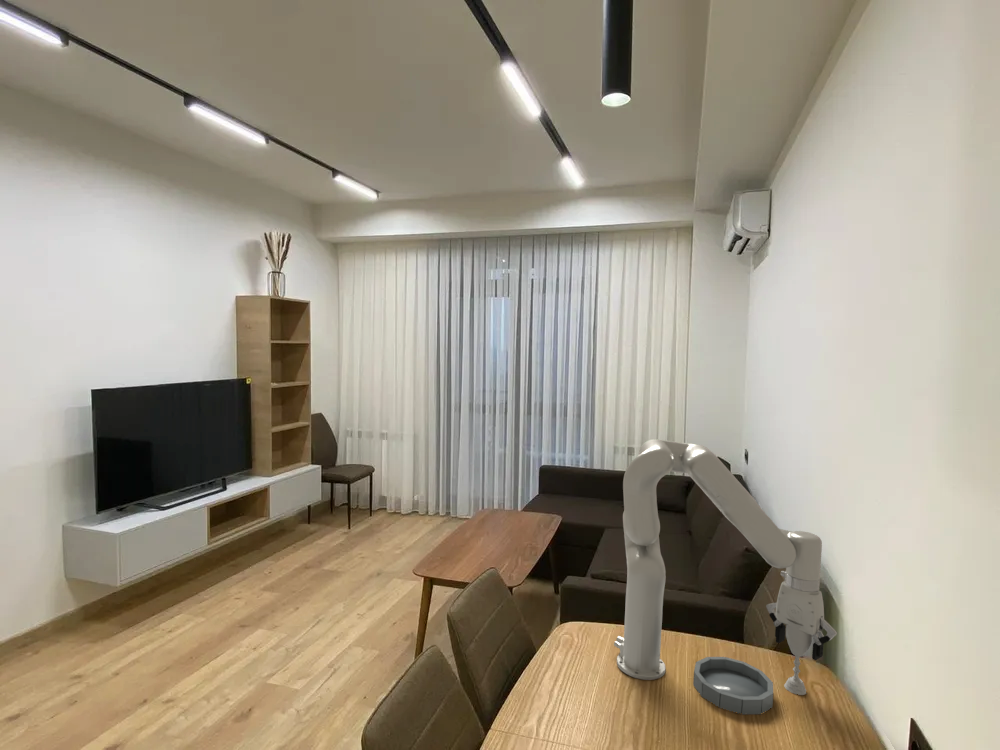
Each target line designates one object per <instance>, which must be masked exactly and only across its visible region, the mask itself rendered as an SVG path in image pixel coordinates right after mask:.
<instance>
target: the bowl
mask: <svg viewBox="0 0 1000 750" xmlns="http://www.w3.org/2000/svg"><path fill="white" fill-rule="evenodd" d="M693 670H694V671H693V682H692V683H693V684H692V685H693V687H694V688H695V689H696V691H697V693H698V694H699V693H700V694H699V695H700V697H702V698H703V699H704V698H705V699H704V700H706V699H707V700H706V701H707V702H709V701H710V702H709V703H711V702H712V703H713V705H714V704H715V705H714V706H715V707H717V706H718V708H719V709H722V708H723V709H722V710H725V709H726V711H728V710H729V712H732V711H733V713H735V712H737V713H736V714H739V713H740V714H739V715H762V714H761V713H763V712H764V713H766V712H767V711H769V710H771V709H773V705H774V704H773V703H774V681H772V680H771V679H770V678H769V677H768V675H767V674H766V673H765V672H763V671H762V670H760V669H759V668H756V667H755V666H754V665H751V664H749V663H747V662H745V661H743V660H739V659H736V658H735V659H734V658H730V657H727V656H706V657H704V658H702V659H699V660H697V661H696V662H695V665H694V669H693ZM712 703H711V704H712ZM770 708H771V709H770ZM765 711H766V712H765ZM741 713H742V714H741ZM764 713H763V714H764Z"/></svg>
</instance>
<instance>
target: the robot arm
mask: <svg viewBox="0 0 1000 750" xmlns="http://www.w3.org/2000/svg"><path fill="white" fill-rule="evenodd" d="M670 472H673V473H681V474H687V475H689V477H690V479H692V480H693V482H694V483H695V484H696V485H697V486H698V487H699V488H700V489H701V490H702V492H703V493H704V494H705V495H706V497H708V499H709V500H710V501H711V502H712V504H714V506H715V507H716V508H717V509H718V510H719V511H720V513H721V514H722V515H723V516H724V517H725V518H726V519H727V521H729V522H730V523H731V524H732V525H733V526H734V527H735V528H736V529H737V530H738V531H739V532H740V533H741V534H742V535H743V536H744V538H745V539H746V540H747V541H748V542H749V543H750V544H751V546H752V547H753V548H754V549H755V550H756V551H757V552H758V554H759V555H760V556H761V558H763V559H764V560H765V563H767V564H768V565H769V566H771V567H773V568H776V569H785V570H781V571H780V576H782V577H783V578H784V581H782V582H781V584H780V587H779V591H778V595H777V600H776V602H772V603H768V604H766V606H765V607H766V610H767V612H768V613H769V615H768V616H769V617H770V619H771V621H772V622H773V626H774V627H775V630H774V631H775V633H774V636H775V642H776V643H777V644H780V643H781V642H784V641H785V640H786V625H789V626H790V624H789V622H788V621H787V620H789V621H790V622H792V623H795V624H798V625H801V626H803V627H801V628H799V630H801V631H802V632H804V633H807V634H810V635H812V640H814V643H812V653H811V654H812V655H811V657H812V660H814V661H816V660H818V659H820V658H822V657H823V655H824V645H825V644H826V643H827V642H830V641H832V639H833V638H834V637H836V636H837V634H838V632H837V631H836V629H835V628H834V627H833V626H832V625H830V623H829V622H828V621H827V620H825V609H824V607H825V606H824V605H825V604H824V600H823V599H824V598H823V594H822V591H821V590H820V582H821V579H820V578H821V564H822V550H823V549H822V548H823V542H822V539H821V537H820V536H818V535H817V534H815V533H812V532H808V531H803V530H802V531H801V530H795V531H794V530H793V531H792V530H786V529H782V528H779V527H778V526H777V524H775V522H773V520H772V519H771V518H770V517H769V515H767V513H766V512H765V511H764V510H763V509H762V508H761V506H760V505H759V504H758V502H757V500H755V498H754V497H753V496H752V495H751V493H750V492H749V491H748V490H747V489H746V488H745V487H744V486H743V484H742V483H741V482H740V481H739V480H738V479H737V478H736V477H735V475H734V474H733V473H732V472H731V471H730V469H729V468H728V467H727V466H726V465H725V464H724V462H722V461H721V459H719V457H718V456H717V455H716V454H715V453H714V452H713V451H711V450H710V449H709V448H708V447H706V446H704V445H702V444H695V443H688V442H678V441H673V440H666V439H665V440H664V439H660V438H659V439H658V438H654V439H653V438H652V439H649V440H646V441H645V442H644V443H642V444H641V446H640V447H639V449H638V455H637V456H636V457H634V458H633V460H631V462H630V463H629V464H628V466H627V468H626V470H625V472H624V475H623V481H622V490H623V491H622V492H623V493H622V494H623V509H624V511H623V513H622V527H623V533H624V534H623V538H624V548H625V557H626V568H627V571H626V572H627V573H626V574H627V577H626V589H625V605H624V606H625V609H624V610H625V611H624V627H623V628H624V630H623V631H624V632H623V636H621V635H618V636H617V637H616V639H615V640H616V641H614V642H613V646H614V647H616V648H617V649H619V654H618V655H617V657H616V666H617V667H618V668H619V670H620V671H621V672H623V673H624V674H625V675H628V676H630V677H632V678H634V679H639V680H644V681H645V680H646V681H651V680H652V681H653V680H657V679H660V678H662V677H663V676H664V675H665V674H666V664H665V662H664V661H663V660H662V658H661V644H662V625H663V624H662V623H663V606H664V594H665V587H666V586H665V585H666V578H667V577H666V573H667V571H666V566H665V561H664V558H663V556H662V553H661V547H660V537H659V535H660V532H661V523H660V517H659V513H658V512H659V511H658V502H657V500H658V499H657V498H658V497H657V485H658V483H659V481H660V480H661V479H662V478H663V477H665V476H667V475H668V474H669V473H670ZM823 630H825V631H826V635H824V634H823Z"/></svg>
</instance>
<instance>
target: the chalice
mask: <svg viewBox="0 0 1000 750" xmlns="http://www.w3.org/2000/svg"><path fill="white" fill-rule="evenodd" d="M787 621H788V622H789V624H790V626H789V625H786V624H785V627H786V628H785V639H786V640H787V644H788V646H789V649H790V652H791V654H793V655H794V657H795V658H794V660H793V664H794V667H793V668H792V670H793V676H789V677H788V678H787V680H786V681H785V683H784V684H783V686H784V688H785V690H786V691H788V692H790V693H791V694H794V695H797V694H798V696H804V695H806V694H807V693H806V691H807V689H806V686H805V683H804V681H803V680H802V679H801V678H800V677H799V673H801V670H800V668H799V667H800V665H801V662H800V657H804V656H805V655H806V653H807V652H808V651H809V648H810V646H811V644H813V643H812V642H813V637H812V635H810V634H807V633H804V632H802V631H801V630H799V628H801V627H803V626H801V625H798V624H795V623H792V622H790V621H789V620H787Z"/></svg>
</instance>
